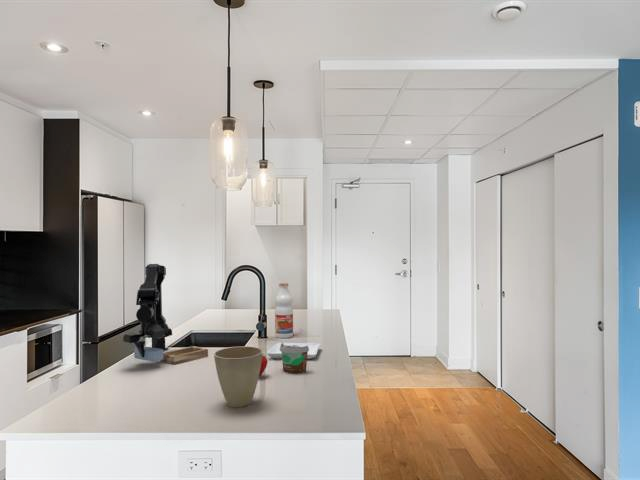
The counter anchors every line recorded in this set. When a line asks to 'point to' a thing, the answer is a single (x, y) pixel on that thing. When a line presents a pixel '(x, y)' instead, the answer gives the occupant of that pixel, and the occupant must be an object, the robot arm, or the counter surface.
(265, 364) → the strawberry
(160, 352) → the fuselage block
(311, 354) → the salad plate
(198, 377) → the counter surface
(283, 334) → the fruit juice
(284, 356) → the food container
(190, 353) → the wooden tray
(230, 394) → the plant pot
